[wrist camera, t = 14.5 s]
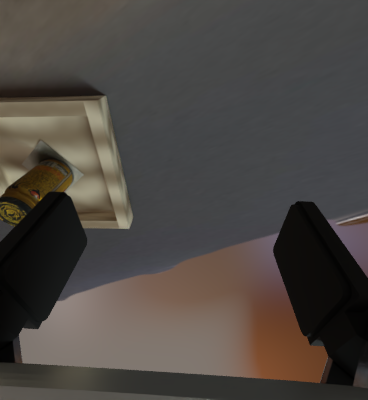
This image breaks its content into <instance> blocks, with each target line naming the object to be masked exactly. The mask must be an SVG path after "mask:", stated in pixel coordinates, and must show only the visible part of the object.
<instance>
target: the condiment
mask: <svg viewBox="0 0 368 400" xmlns="http://www.w3.org/2000/svg"><path fill="white" fill-rule="evenodd" d="M22 165H23V166H25V167H26V168H27V169H29V170H30V171H28V172H27V173H26V174H25V175H23V176H22V177H21V178H19V179H18V180H17V181H15V182H14V183H12V184H11V185H10V186H8V187H7V188H6V190H5V193H4V194H3V195H1V197H0V219H1V220H2V221H4V222H6V223H8V224H10V225H13V226H16V225H17V224H18V223H19V222H20V221H21V220H22V219H23V218H24V217H25V216H26V215H27V214H28V213H29V212H30V211H31V210H32V209H33V208H34V207H35V205H36V204H37V203H38V202H39V201H40V200H41V199H42V198H43V197H44V196H45V195H46V194H47V193H48V192H51V191H54V192H66V191H67V190H68V189H69V188H71V187H72V186H73V185H74V184H75V183H76V182H77V181H78V180H79V179H80V178H81V177H82V176H83V175H84V174H82V173H81V172H80V171H79V170H78V169H77V168H75V167H74V166H73V165H72V164H71V163H69V162H68V161H67V160H66V159H64V158H63V157H61V156H60V155H59V154H58V153H57V152H55V151H54V150H53V149H52V148H50V147H49V146H47V145H46V144H45V143H44V142H43V141H41V140H40V142H39V143H38V144H37V146H36V147H35V148H34V150H33V151H32V152H31V153H30V155H29V156H28V157H27V158H26V160H25V161H24V162H23V163H22Z"/></svg>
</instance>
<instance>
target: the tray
mask: <svg viewBox="0 0 368 400" xmlns="http://www.w3.org/2000/svg"><path fill="white" fill-rule="evenodd" d="M40 140H41V141H43V142H44V143H45V144H46V145H47V146H49V147H50V148H52V149H53V150H54V151H55V152H57V153H58V154H59V155H60V156H61V157H63V158H64V159H66V160H67V161H68V162H69V163H71V164H72V165H73V166H74V167H75V168H77V169H78V170H79V171H80V172H81V173H82V174H84V175H83V176H82V177H81V178H80V179H79V180H78V181H77V182H76V183H75V184H74V185H73V186H72V187H71V188H69V189H68V190H67V191H66V192H65V193H67V195H68V196H70V197H71V198H72V201H73V203H74V206H75V209H76V211H77V214H78V216H79V219H80V222H81V224H82V227H83V228H120V229H129V227H130V225H131V222H132V219H133V214H132V210H131V205H130V201H129V196H128V192H127V187H126V183H125V178H124V174H123V169H122V165H121V160H120V156H119V151H118V147H117V142H116V138H115V133H114V129H113V124H112V120H111V115H110V111H109V106H108V102H107V97H106V96H59V97H13V98H0V197H1V195H3V194H4V193H5V190H6V188H7V187H8V186H10V185H11V184H12V183H14V182H15V181H17V180H18V179H19V178H21V177H22V176H23V175H25V174H26V173H27V172H28V171H30V170H29V169H27V168H26V167H25V166H23V165H22V163H23V162H24V161H25V160H26V158H27V157H28V156H29V155H30V153H31V152H32V151H33V150H34V148H35V147H36V146H37V144H38V143H39V142H40Z"/></svg>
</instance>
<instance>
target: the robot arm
mask: <svg viewBox="0 0 368 400" xmlns="http://www.w3.org/2000/svg"><path fill="white" fill-rule="evenodd" d="M86 245H87V237H86V234H85V232H84V229H83V227H82V224H81V222H80V219H79V216H78V214H77V211H76V209H75V206H74V203H73V201H72V198H71V197H70V196H68V195H67V193H65V192H54V191H51V192H48V193H47V194H46V195H45V196H44V197H43V198H42V199H41V200H40V201H39V202H38V203H37V204H36V205H35V207H34V208H33V209H32V210H31V211H30V212H29V213H28V214H27V215H26V216H25V217H24V218H23V219H22V220H21V221H20V222H19V223H18V224H17V225H16V226H15V227H14V228H13V229H12V230H11V231H10V233H9V234H8V235H7V236H6V237H5V238H4V239H3V240H2V241H1V242H0V400H368V278H367V276H366V275H365V273H364V272H363V271H362V269H361V268H360V266H359V265H358V264H357V262H356V261H355V259H354V258H353V257H352V255H351V254H350V252H349V251H348V250H347V248H346V247H345V245H344V244H343V243H342V241H341V240H340V238H339V237H338V236H337V234H336V233H335V231H334V230H333V229H332V227H331V226H330V224H329V223H328V221H327V220H326V219H325V217H324V216H323V214H322V213H321V212H320V210H319V209H318V207H317V206H316V205H315V203H314V202H303V201H298V202H296V203H295V205H291V207H290V209H289V211H288V214H287V216H286V219H285V221H284V223H283V226H282V228H281V231H280V233H279V236H278V238H277V240H276V243H275V245H274V249H273V253H274V256H275V259H276V262H277V265H278V268H279V270H280V273H281V276H282V279H283V282H284V284H285V287H286V290H287V293H288V296H289V298H290V301H291V304H292V307H293V310H294V313H295V316H296V318H297V321H298V324H299V327H300V330H301V332H302V334H303V335H304V336H307V338H308V341H309V343H310V345H313V346H324V347H325V349H326V351H327V354H328V359H327V362H326V365H325V368H324V371H323V374H322V378H321V381H320V383H312V382H299V381H288V380H287V381H286V380H273V379H258V378H243V377H230V376H216V375H215V376H214V375H201V374H184V373H170V372H153V371H139V370H123V369H107V368H90V367H74V366H57V365H41V364H24V363H22V356H21V348H20V341H19V333H20V332H21V330H22V328H28V329H38V328H39V327H40V325H41V323H42V321H44V320H46V319H47V318H48V316H49V315H50V313H51V311H52V309H53V307H54V305H55V303H56V301H57V300H58V298H59V296H60V294H61V292H62V290H63V288H64V286H65V285H66V283H67V281H68V279H69V277H70V275H71V273H72V271H73V270H74V268H75V266H76V264H77V262H78V260H79V258H80V256H81V254H82V253H83V251H84V249H85V247H86Z"/></svg>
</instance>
